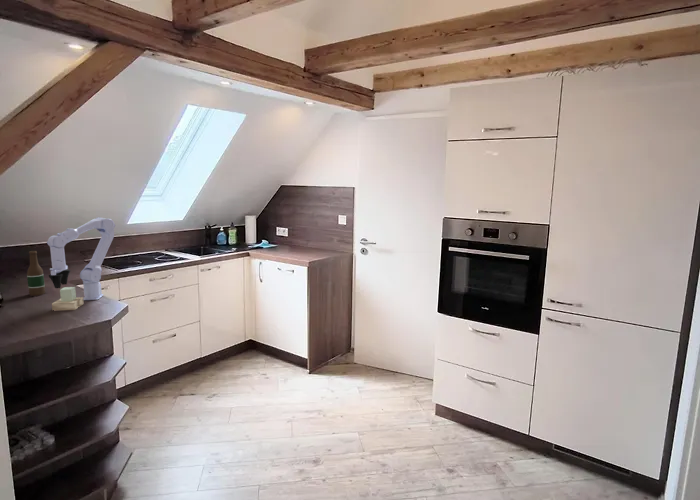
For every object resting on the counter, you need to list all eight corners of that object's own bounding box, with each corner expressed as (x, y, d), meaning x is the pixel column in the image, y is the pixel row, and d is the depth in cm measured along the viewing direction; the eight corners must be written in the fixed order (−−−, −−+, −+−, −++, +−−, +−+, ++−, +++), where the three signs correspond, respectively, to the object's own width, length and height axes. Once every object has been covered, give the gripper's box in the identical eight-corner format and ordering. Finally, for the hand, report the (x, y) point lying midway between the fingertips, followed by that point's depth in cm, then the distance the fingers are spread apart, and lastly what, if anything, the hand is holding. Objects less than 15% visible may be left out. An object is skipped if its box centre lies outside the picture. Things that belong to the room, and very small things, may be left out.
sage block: (65, 298, 218) (64, 287, 217) (76, 298, 219) (75, 286, 218) (61, 301, 214) (59, 289, 213) (72, 301, 215) (71, 289, 214)
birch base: (62, 305, 221) (61, 297, 220) (83, 304, 222) (83, 297, 222) (52, 311, 211) (51, 303, 210) (74, 310, 213) (74, 302, 212)
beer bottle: (33, 292, 242) (28, 250, 238) (48, 292, 244) (44, 249, 240) (25, 296, 235) (20, 252, 231) (42, 295, 236) (37, 252, 232)
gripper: (55, 257, 222) (58, 283, 224) (42, 262, 208) (45, 290, 210) (71, 256, 224) (73, 282, 226) (59, 262, 210) (61, 289, 212)
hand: (61, 286), depth 218 cm, fingers open, 7 cm apart
